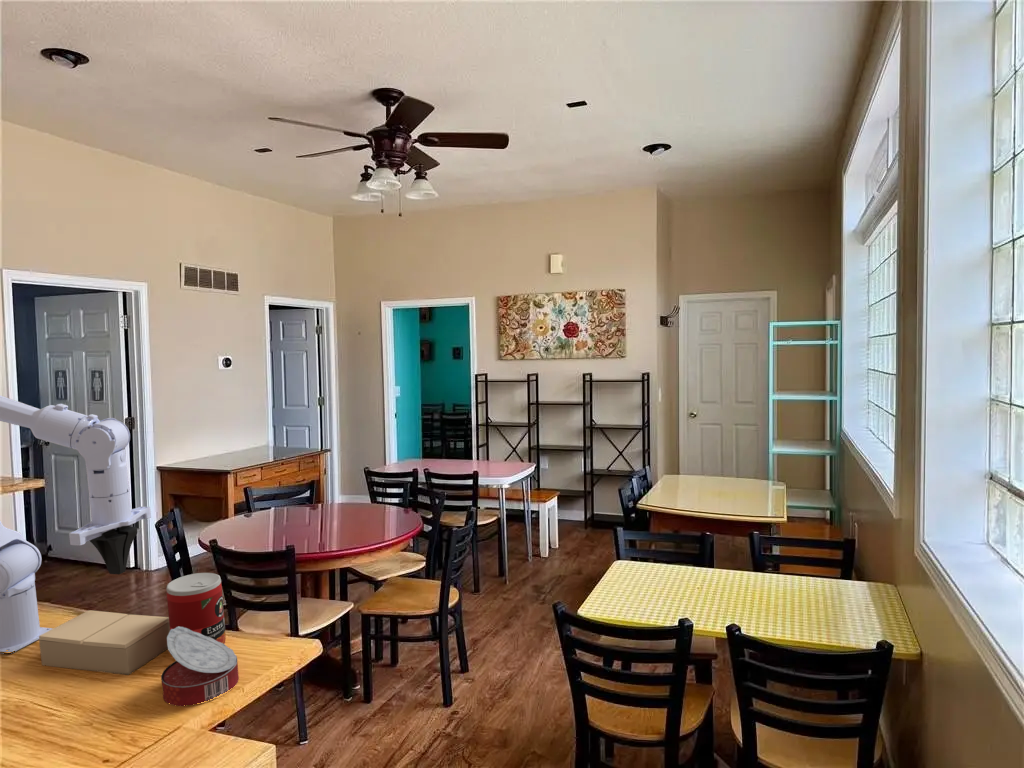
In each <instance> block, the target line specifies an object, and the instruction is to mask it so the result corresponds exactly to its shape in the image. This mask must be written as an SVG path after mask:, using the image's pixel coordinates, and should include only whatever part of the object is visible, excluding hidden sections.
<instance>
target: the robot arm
mask: <svg viewBox="0 0 1024 768" xmlns="http://www.w3.org/2000/svg"><path fill="white" fill-rule="evenodd" d="M68 408H69V406H68V405H67V404H64V403H58V404H56V405H53V404H50V405H47V406H45V407H43V408H38V407H34V406H33V405H29V404H26V403H23V402H22V401H18V400H14V399H13V398H12V399H11V398H9V397H6V396H3V395H0V422H3V423H7V424H10V425H14V426H18V427H19V426H20V427H23V428H28V429H30V431H31V433H32V435H33V436H34V437H35V438H36V439H38V440H41V441H45V442H49V443H52V444H55V445H59V446H61V447H65V448H68V449H72V450H74V451H75V450H76V451H77V452H78V454H80V456H81V457H82V458H83V459H84V461H85V468H86V469H85V470H86V478H87V488H88V500H89V508H90V509H89V510H90V518H91V521H89V522H87V523H86V524H84V525H83V526H80V527H79V528H78V529H76V530H73V531H71V532H69V533H68V537H69V543H70V544H69V545H70V546H83V545H85V544H86V542H90V543H91V544H92V545H93V546H94V548H95V549H96V550H97V552H98V553H99V554H100V556H101V558H102V560H103V561H104V564H105V566H106V568H107V571H108V573H109V575H121V574H123V573H125V572H126V570H127V569H126V568H127V565H128V560H129V554H130V550H131V548H132V545H133V542H134V540H135V538H136V536H137V534H138V527H136V526H131V525H133V524H136V523H137V522H139V521H142V520H147V519H150V518H152V513H151V512H152V511H151V506H138V507H136V508H132V505H131V495H130V485H129V474H128V466H127V465H128V463H127V455H126V448H127V446H128V445H129V443H130V441H131V433H130V430H129V427H128V426H127V425H126V424H125V423H124V422H123V421H120V420H118V419H116V418H115V417H108V418H104V419H102V420H100V419H99V418H98V417H99V416H98V415H97V414H92V413H90V414H89V415H87V414H84V413H80V412H77V411H73V410H70V409H68ZM42 560H43V559H42V554H41V552H40V550H39V548H38V547H37V546H36V545H34V544H33V543H31V542H29V541H27V540H26V538H24V536H23V535H22V533H21V532H19V531H18V530H14V529H12V528H9V527H6V526H4V524H3V523H2V521H1V520H0V652H13V651H15V652H18V651H19V650H21V649H23V648H25V647H27V646H28V645H30V644H32V643H34V642H36V641H39V640H40V639H39V636H40V635H42V634H44V633H46V632H48V631H50V630H52V629H54V628H52V627H43V626H40V618H39V609H38V608H39V607H38V599H37V590H36V582H35V581H36V573H37V572H38V570H39V569H40V567H41V565H42ZM6 650H8V651H6ZM13 653H14V652H13Z"/></svg>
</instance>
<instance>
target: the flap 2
mask: <svg viewBox="0 0 1024 768" xmlns="http://www.w3.org/2000/svg"><path fill="white" fill-rule="evenodd" d="M168 622H169V616H155V615H145V614H144V615H143V614H142V615H141V614H128V616H126V617H125V618H123V619H121V620H119V621H117V622H116V623H114V624H112V625H110V626H109V627H107V628H105V629H103V630H101V631H100V632H98V633H96V634H94V635H93V636H91V637H89V638H87V639H86V640H84V641H83V645H89V646H100V647H112V648H124V649H126V648H127V647H129V646H131V645H132V644H134V643H135V642H137V641H139V640H140V639H142V638H143V637H145V636H147V635H148V634H150V633H152V632H153V631H155V630H156V629H158V628H160V627H161V626H163V625H164V624H166V623H168Z"/></svg>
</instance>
